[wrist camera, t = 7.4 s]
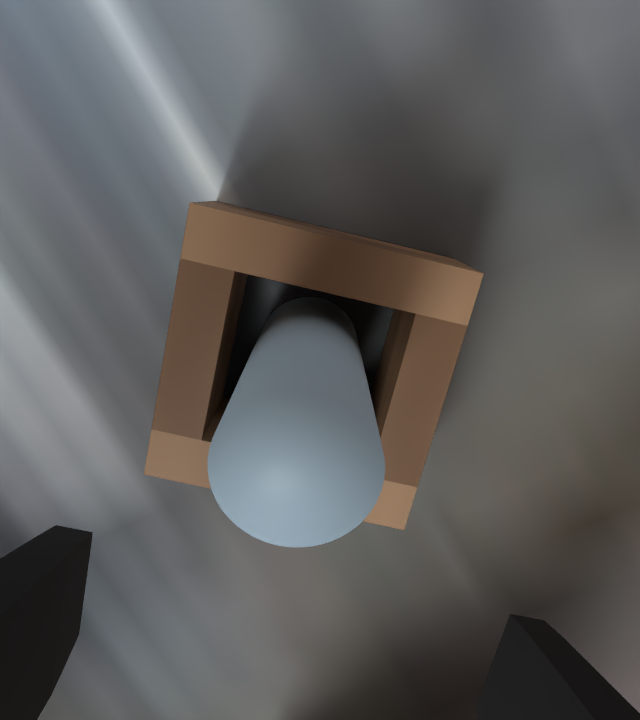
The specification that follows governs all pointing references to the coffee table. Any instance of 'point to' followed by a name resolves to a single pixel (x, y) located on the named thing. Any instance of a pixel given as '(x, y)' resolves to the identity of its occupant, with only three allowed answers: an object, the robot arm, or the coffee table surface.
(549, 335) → the coffee table surface
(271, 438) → the dowel
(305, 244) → the brown square frame
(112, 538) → the coffee table surface
